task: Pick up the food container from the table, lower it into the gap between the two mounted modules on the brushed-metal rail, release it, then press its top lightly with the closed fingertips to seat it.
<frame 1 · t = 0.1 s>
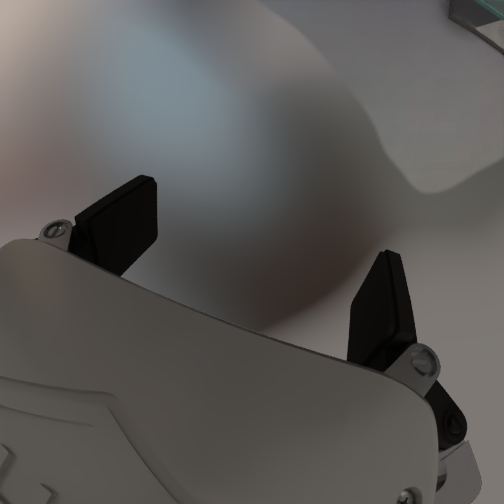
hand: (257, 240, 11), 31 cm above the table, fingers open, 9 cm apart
mounted module A: (462, 6, 15), resting on rail
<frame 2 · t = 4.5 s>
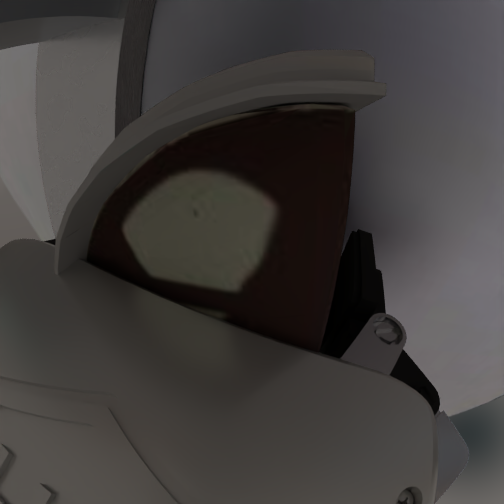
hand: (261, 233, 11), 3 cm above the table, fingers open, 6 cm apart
rail: (92, 143, 14), on the table
food container: (275, 202, 13), on the table, touching gripper
mounted module A: (104, 1, 8), resting on rail
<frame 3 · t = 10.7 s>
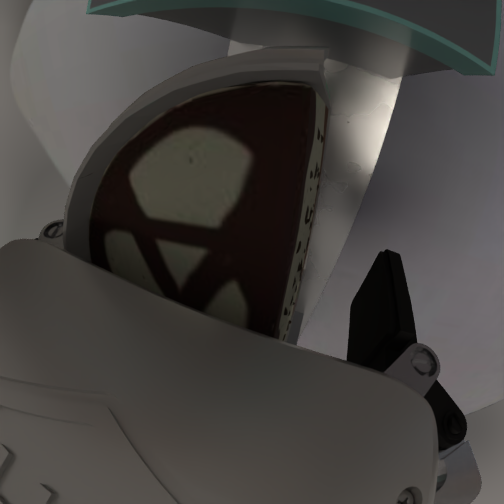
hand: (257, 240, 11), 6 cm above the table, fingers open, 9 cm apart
rail: (287, 185, 16), on the table
mounted module B: (257, 297, 21), resting on rail
food container: (260, 185, 14), point 2 cm above the table, touching rail
mounted module A: (324, 27, 10), resting on rail
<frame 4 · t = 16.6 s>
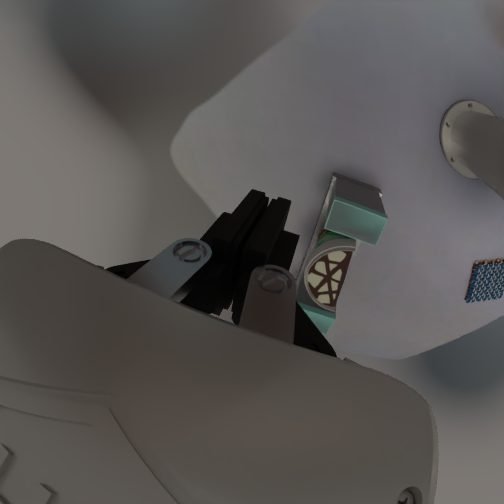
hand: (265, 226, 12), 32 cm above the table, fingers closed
rail: (335, 239, 47), on the table
mounted module B: (318, 279, 52), resting on rail
woven mat: (487, 277, 40), on the table
food container: (328, 241, 45), point 2 cm above the table, touching rail
mounted module A: (353, 192, 41), resting on rail
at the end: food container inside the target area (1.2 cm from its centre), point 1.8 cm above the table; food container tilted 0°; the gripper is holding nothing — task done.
